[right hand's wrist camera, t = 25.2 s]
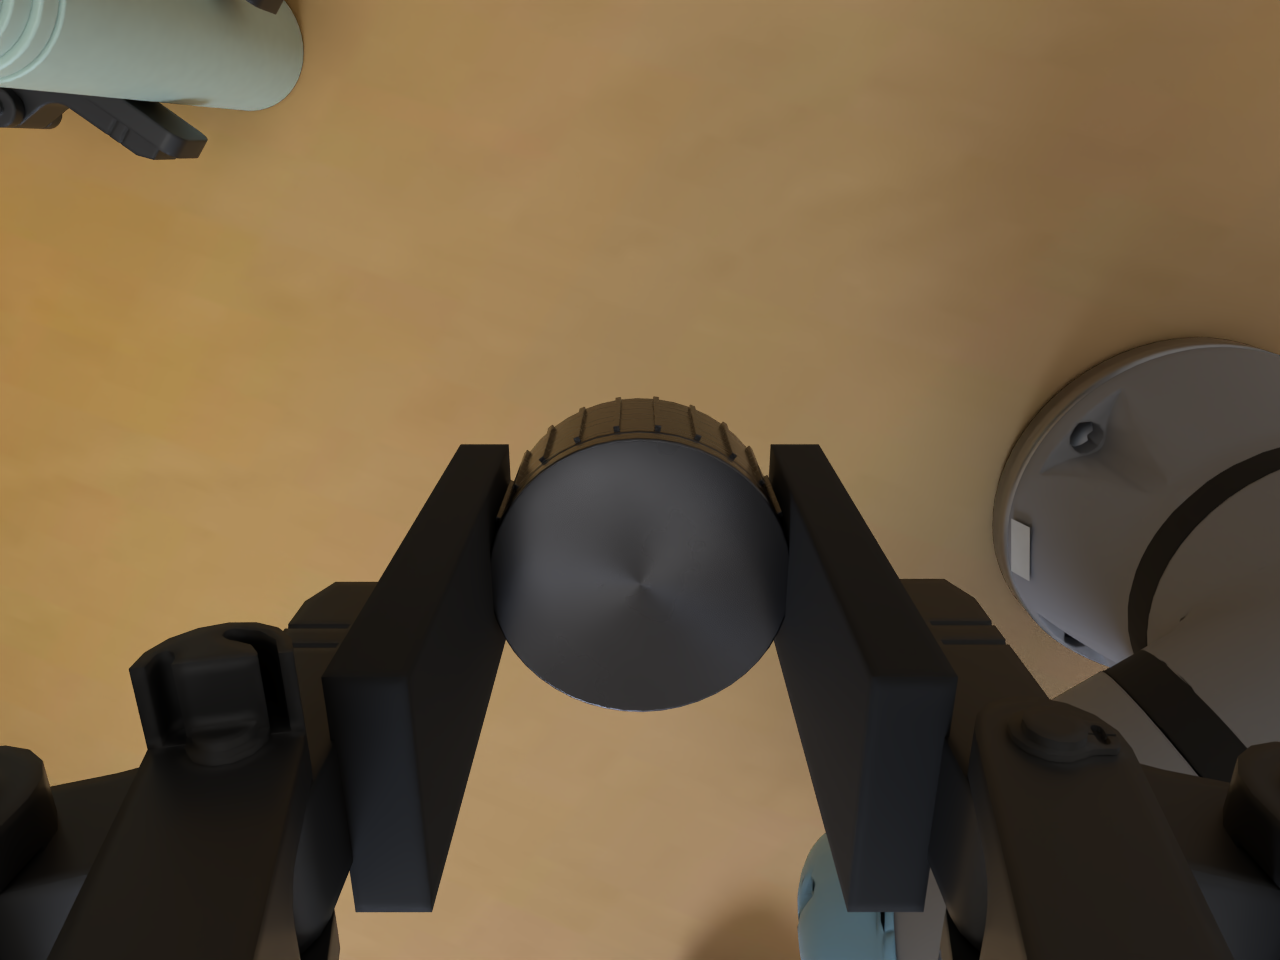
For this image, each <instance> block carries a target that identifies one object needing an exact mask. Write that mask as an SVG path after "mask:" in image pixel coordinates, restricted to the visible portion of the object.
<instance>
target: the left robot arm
mask: <svg viewBox="0 0 1280 960" xmlns="http://www.w3.org/2000/svg"><path fill="white" fill-rule="evenodd" d="M246 1H247V2H249V3H250V4H252V5H254V6H255V7H257V8H259V9H262V10H264V11H267V12H270V13H273V14H277V12H278V10H279V8H280V6H281V5H282V3H283V1H284V0H246ZM69 108H70V109H71V110H73V111H74V112H76V113H77V114H79V115H80V116H81V117H83V118H84V119H86V120H87V121H89V122H90V123H91V124H93V125H94V126H96V127H97V128H99V129H100V130H102V131H103V132H104V133H106V134H108V135H110V137H112V138H113V139H114V140H116V141H117V142H119V143H121V144H122V145H123V146H125V147H126V148H127V149H129V150H130V151H132V152H133V153H135V154H136V155H138V156H142V157H146V158H149V159H153V160H166V159H176V158H198V157H199V155H200V153H201V151H202V150H203V148H204V146H205V144H206V142H207V140H208V139H207V138H206V136H205V135H203V134H202V133H201V132H200V131H198V130H197V129H195V128H194V127H193V126H191V125H190V124H188V123H187V122H186V121H184V120H183V119H181V118H180V117H179V116H177V115H176V114H174V113H173V112H172V111H170V110H169V109H167V108H166V107H165V106H163V105H162V104H160V103H159V102H152V101H141V100H131V99H121V98H110V97H100V96H89V95H79V94H68V93H58V92H48V91H37V90H27V89H16V88H6V87H0V127H3V128H34V129H52V128H55V127H56V126H58V125H59V123H60V122H61V119H62V113H64V112H65V111H66V110H67V109H69Z"/></svg>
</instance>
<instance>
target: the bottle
mask: <svg viewBox="0 0 1280 960" xmlns="http://www.w3.org/2000/svg"><path fill="white" fill-rule="evenodd" d="M302 64H303V41H302V35H301V32H300V28H299V25H298V23H297V20H296V18H295V16H294V14H293V12H292V11H291V9H290V8H289V6H288V5H287V3H286V2H285V1H283V3H282V5H281V6H280V8H279V10H278V12H277V14H273V13H270V12H267V11H264V10H262V9H259V8H257V7H255V6H254V5H252V4H250V3H249V2H247V1H246V0H0V87H6V88H16V89H27V90H37V91H48V92H58V93H68V94H79V95H89V96H100V97H110V98H121V99H131V100H141V101H152V102H162V103H173V104H183V105H193V106H204V107H214V108H225V109H235V110H246V111H255V110H262V109H266V108H268V107H271V106H273V105H275V104H277V103H279V102H280V101H281V100H283V99H284V98H285V97H286V96H287V95H288V94H289V93H290V92H291V90H292V89H293V87H294V86H295V84H296V82H297V80H298V78H299V75H300V72H301V69H302Z"/></svg>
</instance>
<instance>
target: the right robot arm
mask: <svg viewBox="0 0 1280 960" xmlns="http://www.w3.org/2000/svg"><path fill="white" fill-rule="evenodd" d="M510 480H511V479H510V461H509V444H461V445H460V446H459V448H458V450H457V451H456V453H455V455H454V456H453V458H452V460H451V461H450V463H449V465H448V466H447V468H446V470H445V471H444V473H443V475H442V476H441V478H440V480H439V481H438V483H437V485H436V486H435V488H434V490H433V491H432V493H431V495H430V496H429V498H428V500H427V501H426V503H425V505H424V506H423V508H422V510H421V511H420V513H419V515H418V516H417V518H416V520H415V521H414V523H413V525H412V526H411V528H410V530H409V531H408V533H407V535H406V536H405V538H404V540H403V541H402V543H401V545H400V546H399V548H398V550H397V551H396V553H395V555H394V556H393V558H392V560H391V561H390V563H389V565H388V566H387V568H386V570H385V571H384V573H383V575H382V576H381V578H380V580H379V581H378V582H335V583H333V584H332V585H330V586H328V587H327V588H325V589H324V590H322V591H321V592H319V593H317V594H316V595H314V596H313V597H311V598H310V599H308V600H306V601H305V602H304V603H303V605H302V606H301V608H300V609H299V610H298V612H297V613H296V614H295V616H294V617H293V618H292V620H291V621H290V623H289V624H288V629H284V631H282V630H281V629H280V628H278V627H274V626H270V625H266V624H261V623H257V622H240V623H224V624H218V625H213V626H207V627H202V628H197V629H194V630H192V631H189V632H186V633H183V634H180V635H177V636H175V637H172V638H169V639H167V640H165V641H164V642H162V643H160V644H159V645H157V646H155V647H153V648H152V649H150V650H148V651H146V652H145V653H144V654H143V655H142V656H141V657H140V658H139V659H138V660H137V661H136V662H135V663H134V664H133V665H132V666H131V667H130V668H129V672H130V676H131V681H132V685H133V689H134V693H135V698H136V702H137V706H138V710H139V715H140V719H141V723H142V727H143V732H144V736H145V740H146V744H147V749H148V750H147V752H146V754H145V756H144V759H143V761H142V763H141V765H140V767H139V768H135V769H132V770H128V771H124V772H120V773H116V774H111V775H106V776H101V777H96V778H91V779H86V780H81V781H76V782H71V783H66V784H61V785H57V786H52V787H50V785H49V781H48V778H47V774H46V771H45V767H44V764H43V761H42V760H41V759H40V758H39V757H38V756H36V755H35V754H34V753H33V752H32V751H30V750H28V749H22V748H17V747H11V746H0V960H339V953H340V944H339V937H338V929H337V923H336V916H335V910H334V908H335V905H336V903H337V900H338V898H339V895H340V893H341V890H342V888H343V885H344V883H345V880H346V878H347V875H348V873H349V870H350V876H351V883H352V890H353V896H354V903H355V910H356V912H432V910H433V906H434V903H435V899H436V895H437V891H438V888H439V884H440V880H441V877H442V873H443V869H444V866H445V862H446V858H447V855H448V851H449V847H450V843H451V840H452V836H453V832H454V829H455V825H456V821H457V818H458V814H459V810H460V807H461V803H462V799H463V796H464V792H465V788H466V784H467V781H468V777H469V773H470V770H471V766H472V762H473V759H474V755H475V751H476V748H477V744H478V740H479V736H480V733H481V729H482V725H483V722H484V718H485V714H486V711H487V707H488V703H489V700H490V696H491V692H492V688H493V685H494V681H495V677H496V674H497V670H498V666H499V663H500V659H501V655H502V652H503V648H504V644H505V640H506V639H505V637H504V635H503V633H502V631H501V629H500V627H499V625H498V623H497V621H496V618H495V614H494V607H493V592H492V577H491V561H490V549H491V545H492V542H493V538H494V535H495V531H496V529H497V526H498V523H497V522H495V519H496V516H497V514H498V511H499V508H500V506H501V503H502V500H503V498H504V495H505V493H506V490H507V487H508V485H509V482H510ZM769 480H770V482H771V485H772V487H773V490H774V492H775V495H776V498H777V500H778V503H779V505H780V508H781V510H782V513H783V515H784V516H783V517H780V520H781V522H782V525H783V527H784V530H785V533H786V536H787V539H788V542H789V565H788V580H787V595H786V610H785V618H784V621H783V623H782V625H781V628H780V630H779V632H778V634H777V635H776V637H775V639H774V643H775V646H776V650H777V654H778V657H779V661H780V665H781V668H782V672H783V676H784V680H785V683H786V687H787V691H788V694H789V698H790V702H791V705H792V709H793V713H794V716H795V720H796V724H797V728H798V731H799V735H800V739H801V742H802V746H803V750H804V753H805V757H806V761H807V764H808V768H809V772H810V776H811V779H812V783H813V787H814V790H815V794H816V798H817V801H818V805H819V809H820V813H821V816H822V820H823V824H824V827H825V831H826V833H825V834H824V835H822V836H821V837H820V838H819V839H818V841H817V842H816V843H815V844H814V846H813V847H812V849H811V850H810V852H809V854H808V856H807V859H806V862H805V864H804V867H803V869H802V873H801V878H800V883H799V889H798V919H799V924H798V940H799V949H800V957H801V960H1280V355H1277V354H1274V353H1271V352H1268V351H1265V350H1262V349H1259V348H1256V347H1253V346H1250V345H1247V344H1244V343H1240V342H1235V341H1230V340H1225V339H1216V338H1181V339H1172V340H1166V341H1161V342H1155V343H1152V344H1148V345H1144V346H1141V347H1137V348H1135V349H1132V350H1129V351H1126V352H1124V353H1121V354H1119V355H1117V356H1114V357H1112V358H1110V359H1108V360H1106V361H1104V362H1102V363H1100V364H1099V365H1097V366H1095V367H1093V368H1092V369H1090V370H1088V371H1086V372H1085V373H1084V374H1082V375H1081V376H1079V377H1078V378H1076V379H1075V380H1073V381H1072V382H1071V383H1069V384H1068V385H1067V386H1066V387H1065V388H1063V389H1062V390H1061V391H1060V392H1059V393H1057V394H1056V395H1055V396H1054V397H1053V398H1052V399H1051V400H1050V401H1049V402H1048V403H1047V404H1046V405H1045V406H1044V407H1043V408H1042V409H1041V410H1040V412H1039V413H1038V414H1037V415H1036V416H1035V417H1034V418H1033V420H1032V421H1031V422H1030V424H1029V425H1028V426H1027V428H1026V429H1025V431H1024V432H1023V433H1022V435H1021V436H1020V438H1019V440H1018V441H1017V443H1016V445H1015V446H1014V448H1013V450H1012V452H1011V454H1010V456H1009V458H1008V460H1007V462H1006V464H1005V467H1004V470H1003V472H1002V475H1001V478H1000V481H999V484H998V488H997V492H996V496H995V502H994V509H993V525H992V527H993V541H994V547H995V553H996V557H997V560H998V564H999V567H1000V570H1001V572H1002V574H1003V577H1004V579H1005V581H1006V583H1007V585H1008V586H1009V588H1010V590H1011V592H1012V593H1013V594H1014V596H1015V597H1016V599H1017V600H1018V601H1019V603H1020V604H1021V605H1022V606H1023V607H1024V609H1025V610H1026V611H1027V612H1028V613H1029V615H1030V616H1031V617H1032V618H1033V619H1034V621H1035V622H1036V623H1037V624H1038V625H1039V626H1040V627H1041V628H1042V629H1043V630H1044V631H1045V632H1046V633H1048V634H1049V635H1050V636H1051V637H1052V638H1053V639H1055V640H1056V641H1058V642H1059V643H1061V644H1062V645H1064V646H1065V647H1067V648H1069V649H1071V650H1073V651H1074V652H1076V653H1078V654H1080V655H1082V656H1084V657H1086V658H1088V659H1090V660H1093V661H1095V662H1097V663H1100V664H1102V665H1105V666H1108V667H1110V668H1108V669H1106V670H1105V671H1102V672H1101V671H1100V672H1099V673H1097V674H1095V675H1094V676H1092V677H1090V678H1088V679H1087V680H1085V681H1083V682H1081V683H1080V684H1078V685H1076V686H1074V687H1073V688H1071V689H1069V690H1068V691H1066V692H1064V693H1062V694H1061V695H1059V696H1057V697H1055V698H1054V699H1052V700H1050V699H1049V698H1048V697H1047V695H1046V694H1045V692H1044V691H1043V690H1042V688H1041V687H1040V686H1039V684H1038V683H1037V682H1036V680H1035V679H1034V678H1033V676H1032V675H1031V674H1030V672H1029V671H1028V670H1027V668H1026V667H1025V666H1024V664H1023V663H1022V661H1021V660H1020V659H1019V657H1018V656H1017V655H1016V653H1015V652H1014V651H1013V649H1012V648H1011V647H1010V645H1006V643H1005V639H1004V637H1003V636H1002V634H1001V633H1000V632H999V630H998V629H997V628H996V626H995V625H992V624H991V620H990V618H989V617H988V616H987V614H986V613H985V612H984V610H983V609H982V607H981V606H980V605H979V603H978V602H977V601H976V599H975V598H973V597H972V596H970V595H969V594H967V593H966V592H964V591H962V590H961V589H959V588H958V587H956V586H954V585H953V584H951V583H950V582H948V581H947V580H945V579H899V578H898V576H897V574H896V573H895V571H894V569H893V568H892V566H891V564H890V563H889V561H888V559H887V558H886V556H885V554H884V553H883V551H882V549H881V548H880V546H879V544H878V543H877V541H876V539H875V538H874V536H873V534H872V533H871V531H870V529H869V528H868V526H867V524H866V523H865V521H864V519H863V518H862V516H861V514H860V513H859V511H858V509H857V508H856V506H855V504H854V503H853V501H852V499H851V498H850V496H849V494H848V493H847V491H846V489H845V488H844V486H843V484H842V483H841V481H840V479H839V478H838V476H837V474H836V473H835V471H834V469H833V468H832V466H831V464H830V463H829V461H828V459H827V458H826V456H825V454H824V453H823V451H822V449H821V448H820V446H819V444H771V449H770V468H769Z"/></svg>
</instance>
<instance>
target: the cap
mask: <svg viewBox="0 0 1280 960" xmlns="http://www.w3.org/2000/svg"><path fill="white" fill-rule="evenodd" d="M783 516H784V515H783V513H782V510H781V508H780V505H779V503H778V500H777V498H776V495H775V492H774V490H773V487H772V485H771V482H770V480H769V477H768V475H766V476H763V474H762V472H761V470H760V468H759V466H758V463H757V460H756V458H755V455H754V453H753V450H752V448H751V447H750V446H748V447H747V448H746V446H745V445H744V444H743V443H742V442H741V441H740V440H739V439H738V438H737V437H736V436H735V435H734V434H733V433H732V432H731V431H729V429H728V426H727V424H726V423H724V422H722V423H719V422H717V421H716V420H714V419H713V418H711V417H709V416H708V415H706V414H704V413H702V412H699V411H697V410H696V409H695V406H692V405H690V406H689V407H687V406H684V405H681V404H678V403H674V402H669V401H663V400H659V397H653V399H641V398H635V399H623V400H621V397H618V398H616V399H615V401H611V402H607V403H602V404H599V405H596V406H593V407H590V408H587V409H585V407H583V408H580V410H579V412H578V413H576V414H574V415H572V416H571V417H569V418H567V419H565V420H564V421H563V422H561V423H560V424H558V425H557V426H555V427H554V426H553V425H552V426H550V427H549V428H548V431H547V434H546V435H545V436H544V437H543V438H541V439H540V441H539V442H538V443H537V444H536V445H535V447H534V448H533V449H532V450H531V451H528V450H527V451H526V452H525V454H524V456H523V459H522V462H521V464H520V467H519V470H518V473H517V475H516V478H515V480H514V481H512V480H510V482H509V485H508V487H507V490H506V493H505V495H504V498H503V500H502V503H501V506H500V508H499V511H498V514H497V516H496V519H495V522H497V523H498V526H497V529H496V531H495V535H494V538H493V542H492V545H491V549H490V561H491V577H492V592H493V607H494V614H495V618H496V621H497V623H498V625H499V627H500V629H501V631H502V633H503V635H504V637H505V639H506V640H507V642H508V643H509V645H510V646H511V648H512V649H513V651H514V652H515V653H516V655H517V656H518V657H519V658H520V659H521V660H522V662H523V663H524V664H525V665H526V666H527V667H528V668H529V669H530V670H531V671H533V672H534V673H535V674H536V675H537V676H538V677H539V678H541V679H542V680H543V681H545V682H546V683H548V684H549V685H551V686H552V687H553V688H555V689H557V690H559V691H561V692H563V693H564V694H566V695H568V696H570V697H572V698H575V699H578V700H580V701H583V702H585V703H588V704H591V705H595V706H599V707H603V708H607V709H614V710H620V711H635V712H647V711H660V710H667V709H672V708H677V707H682V706H685V705H688V704H691V703H695V702H698V701H700V700H703V699H705V698H707V697H709V696H712V695H714V694H716V693H718V692H719V691H721V690H723V689H725V688H726V687H728V686H730V685H731V684H733V683H734V682H735V681H737V680H738V679H739V678H741V677H742V676H743V675H744V674H746V673H747V672H748V671H749V670H750V669H751V668H752V667H753V666H754V665H755V664H756V663H757V662H758V661H759V660H760V658H761V657H762V656H763V655H764V653H765V652H766V651H767V650H768V648H769V647H770V645H771V644H772V642H773V640H774V639H775V637H776V635H777V634H778V632H779V630H780V628H781V625H782V623H783V621H784V618H785V610H786V595H787V580H788V565H789V542H788V539H787V536H786V533H785V530H784V527H783V525H782V522H781V520H780V517H783Z"/></svg>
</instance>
